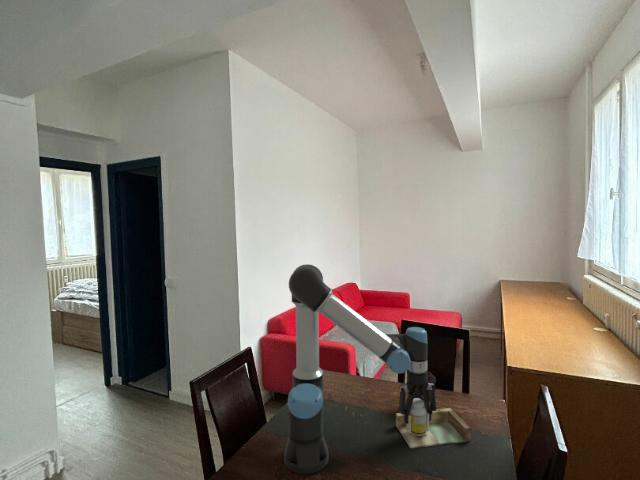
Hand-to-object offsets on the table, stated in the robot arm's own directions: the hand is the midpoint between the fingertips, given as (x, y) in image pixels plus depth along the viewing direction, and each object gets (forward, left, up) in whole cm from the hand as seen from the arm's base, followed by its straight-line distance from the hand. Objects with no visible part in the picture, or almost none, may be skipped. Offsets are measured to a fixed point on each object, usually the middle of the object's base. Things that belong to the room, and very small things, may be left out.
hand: (417, 429), depth 129 cm
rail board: (+5, 0, -2) cm, 6 cm away
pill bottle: (0, 0, -1) cm, 1 cm away
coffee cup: (+11, +18, -2) cm, 21 cm away
